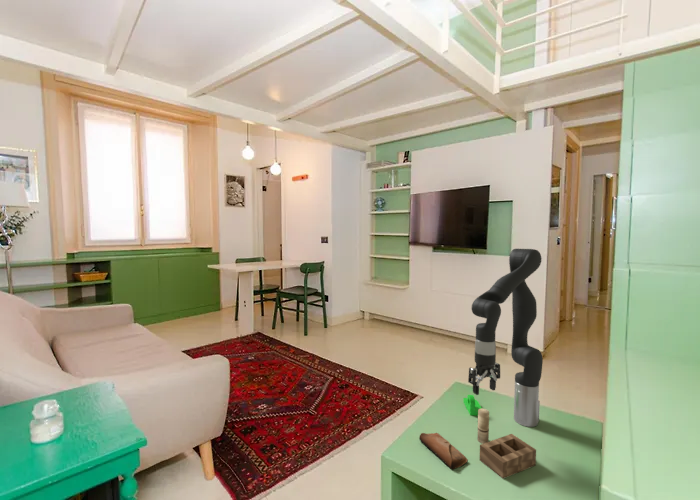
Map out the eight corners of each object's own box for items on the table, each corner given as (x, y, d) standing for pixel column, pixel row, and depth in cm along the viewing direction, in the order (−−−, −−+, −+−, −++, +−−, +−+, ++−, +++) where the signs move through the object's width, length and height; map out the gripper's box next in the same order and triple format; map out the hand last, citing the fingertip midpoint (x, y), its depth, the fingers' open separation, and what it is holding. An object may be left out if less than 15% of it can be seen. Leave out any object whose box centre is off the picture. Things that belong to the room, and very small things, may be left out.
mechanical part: (484, 416, 147) (484, 399, 146) (470, 415, 147) (470, 398, 147) (476, 402, 159) (476, 386, 158) (463, 401, 159) (463, 385, 159)
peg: (482, 436, 132) (483, 407, 131) (490, 442, 128) (491, 412, 128) (475, 439, 130) (475, 409, 130) (483, 445, 127) (483, 415, 126)
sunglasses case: (470, 459, 116) (461, 449, 114) (458, 476, 114) (449, 466, 112) (435, 431, 133) (427, 422, 130) (424, 446, 130) (416, 436, 128)
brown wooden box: (511, 449, 125) (511, 433, 124) (535, 466, 115) (536, 449, 115) (479, 461, 118) (479, 444, 118) (502, 480, 109) (503, 462, 109)
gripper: (490, 345, 134) (490, 384, 135) (463, 350, 128) (463, 391, 129) (506, 351, 127) (505, 392, 128) (478, 357, 121) (477, 400, 122)
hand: (484, 391), depth 128 cm, fingers open, 8 cm apart
